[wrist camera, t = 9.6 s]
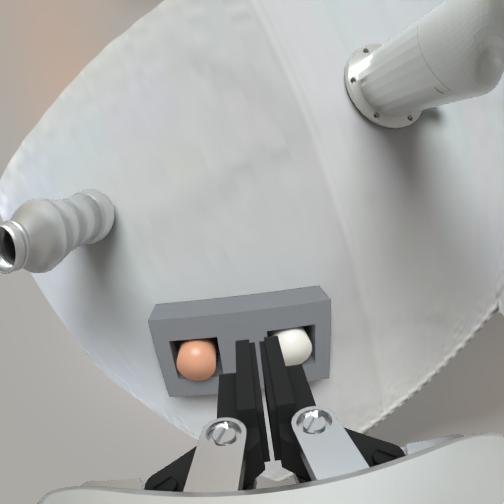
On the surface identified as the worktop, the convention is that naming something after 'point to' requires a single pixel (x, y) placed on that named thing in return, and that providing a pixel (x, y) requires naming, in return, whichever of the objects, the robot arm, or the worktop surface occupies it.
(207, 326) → the grey two-hole block
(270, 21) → the worktop surface
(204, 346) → the terracotta button
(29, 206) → the plastic bottle
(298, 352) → the ivory button
